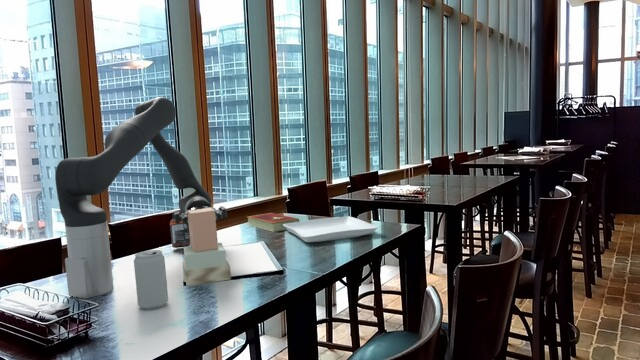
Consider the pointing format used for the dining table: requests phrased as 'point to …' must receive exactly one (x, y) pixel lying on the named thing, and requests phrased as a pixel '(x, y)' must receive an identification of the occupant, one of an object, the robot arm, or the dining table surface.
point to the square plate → (330, 229)
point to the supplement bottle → (179, 233)
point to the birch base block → (206, 274)
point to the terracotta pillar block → (202, 229)
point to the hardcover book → (271, 221)
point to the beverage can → (151, 279)
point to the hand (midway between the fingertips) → (202, 218)
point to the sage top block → (204, 258)
